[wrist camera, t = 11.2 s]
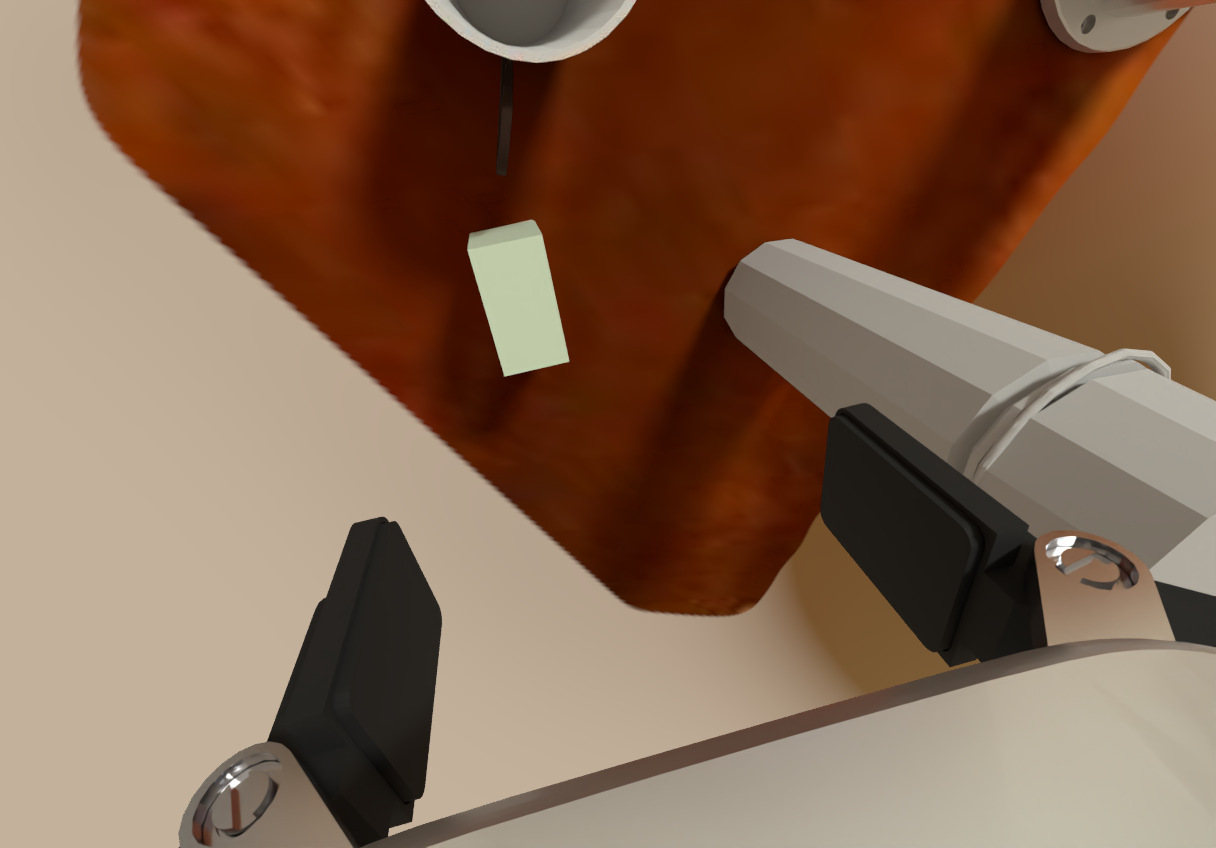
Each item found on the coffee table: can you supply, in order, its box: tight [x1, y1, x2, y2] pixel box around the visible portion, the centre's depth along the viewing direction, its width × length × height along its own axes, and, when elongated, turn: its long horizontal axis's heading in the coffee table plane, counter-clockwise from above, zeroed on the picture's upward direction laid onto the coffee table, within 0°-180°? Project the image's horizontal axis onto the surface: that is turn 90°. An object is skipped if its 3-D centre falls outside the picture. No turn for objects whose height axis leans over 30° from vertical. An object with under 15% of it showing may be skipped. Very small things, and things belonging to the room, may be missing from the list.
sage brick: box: [467, 220, 569, 376], centre depth 25 cm, size 6×3×4 cm, turn 9°
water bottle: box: [724, 239, 1216, 596], centre depth 24 cm, size 9×8×25 cm
